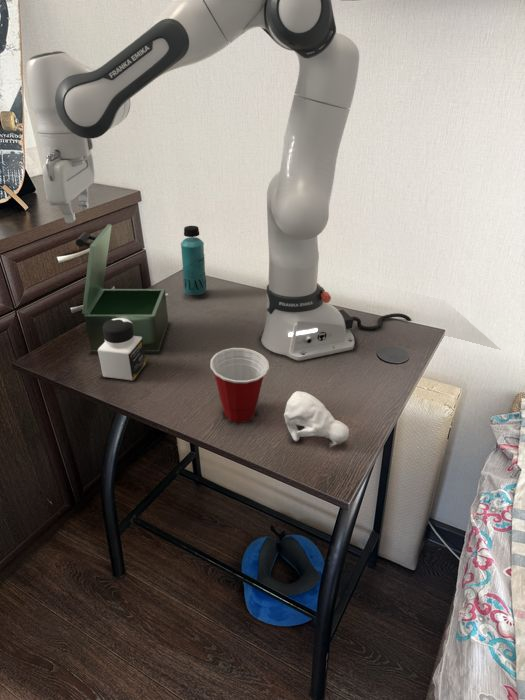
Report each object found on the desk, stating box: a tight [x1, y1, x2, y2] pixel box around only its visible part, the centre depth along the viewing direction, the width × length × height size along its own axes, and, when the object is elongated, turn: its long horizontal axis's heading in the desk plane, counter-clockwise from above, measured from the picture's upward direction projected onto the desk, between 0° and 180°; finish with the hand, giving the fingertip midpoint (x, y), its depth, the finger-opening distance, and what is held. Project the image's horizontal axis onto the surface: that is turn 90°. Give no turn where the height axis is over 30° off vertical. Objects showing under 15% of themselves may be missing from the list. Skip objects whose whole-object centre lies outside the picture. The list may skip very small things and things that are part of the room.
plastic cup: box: [210, 347, 270, 423], centre depth 94 cm, size 11×11×12 cm
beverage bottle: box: [180, 225, 207, 296], centre depth 138 cm, size 6×7×20 cm
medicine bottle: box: [97, 318, 147, 381], centre depth 107 cm, size 7×7×12 cm
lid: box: [75, 223, 113, 315], centre depth 113 cm, size 16×15×5 cm
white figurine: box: [283, 390, 350, 448], centre depth 90 cm, size 6×8×12 cm
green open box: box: [84, 288, 169, 354], centre depth 120 cm, size 16×15×10 cm
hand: (77, 215), depth 107 cm, fingers open, 8 cm apart
